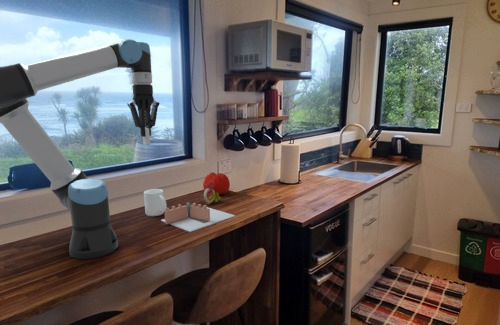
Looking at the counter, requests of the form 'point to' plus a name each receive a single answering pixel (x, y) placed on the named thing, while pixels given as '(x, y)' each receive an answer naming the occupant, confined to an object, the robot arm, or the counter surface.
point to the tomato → (217, 182)
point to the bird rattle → (211, 193)
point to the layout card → (201, 221)
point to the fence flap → (199, 212)
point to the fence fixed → (177, 213)
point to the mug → (154, 202)
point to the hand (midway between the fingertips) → (146, 144)
